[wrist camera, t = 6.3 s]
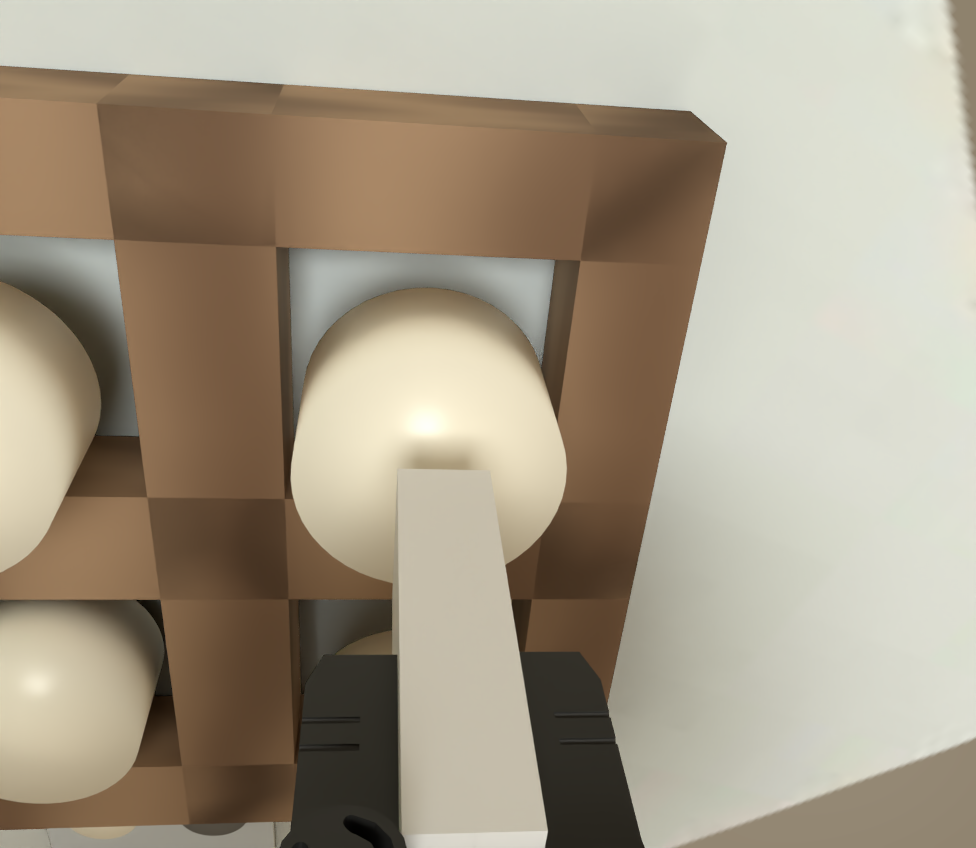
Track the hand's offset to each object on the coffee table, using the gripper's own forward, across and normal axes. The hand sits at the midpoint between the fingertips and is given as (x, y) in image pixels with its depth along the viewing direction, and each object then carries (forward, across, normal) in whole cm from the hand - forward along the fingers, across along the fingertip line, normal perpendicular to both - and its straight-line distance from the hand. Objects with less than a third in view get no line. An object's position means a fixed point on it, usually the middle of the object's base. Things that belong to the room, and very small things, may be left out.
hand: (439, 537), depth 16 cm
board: (+8, -5, -4) cm, 10 cm away
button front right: (+5, 0, 0) cm, 5 cm away
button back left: (+7, -9, -9) cm, 14 cm away
